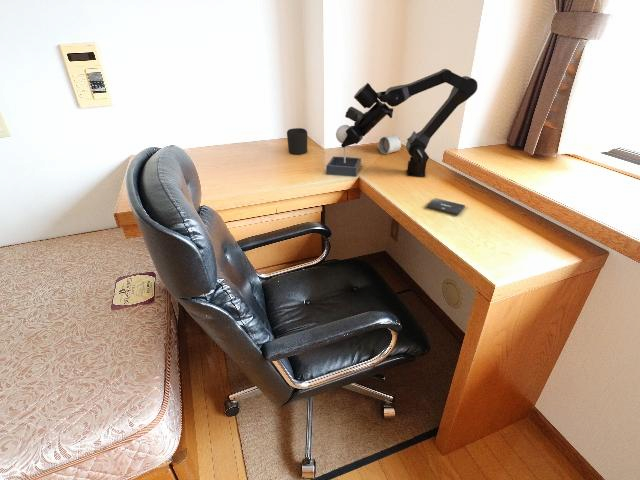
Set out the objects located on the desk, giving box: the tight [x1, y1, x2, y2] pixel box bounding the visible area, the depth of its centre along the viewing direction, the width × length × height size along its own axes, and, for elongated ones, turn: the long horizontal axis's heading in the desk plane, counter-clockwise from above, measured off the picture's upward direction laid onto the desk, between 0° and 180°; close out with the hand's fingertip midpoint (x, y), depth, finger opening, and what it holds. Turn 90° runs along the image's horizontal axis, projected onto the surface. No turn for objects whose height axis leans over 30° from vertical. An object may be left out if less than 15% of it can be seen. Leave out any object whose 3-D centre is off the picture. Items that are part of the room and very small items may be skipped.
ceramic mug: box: [377, 135, 402, 155], centre depth 162 cm, size 11×8×8 cm
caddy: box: [326, 156, 362, 177], centre depth 143 cm, size 12×12×4 cm
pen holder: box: [286, 127, 308, 156], centre depth 163 cm, size 9×9×10 cm
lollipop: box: [335, 124, 351, 163], centre depth 139 cm, size 7×7×15 cm
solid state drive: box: [427, 197, 466, 216], centre depth 113 cm, size 7×10×1 cm
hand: (344, 144), depth 139 cm, fingers closed on lollipop, 6 cm apart
